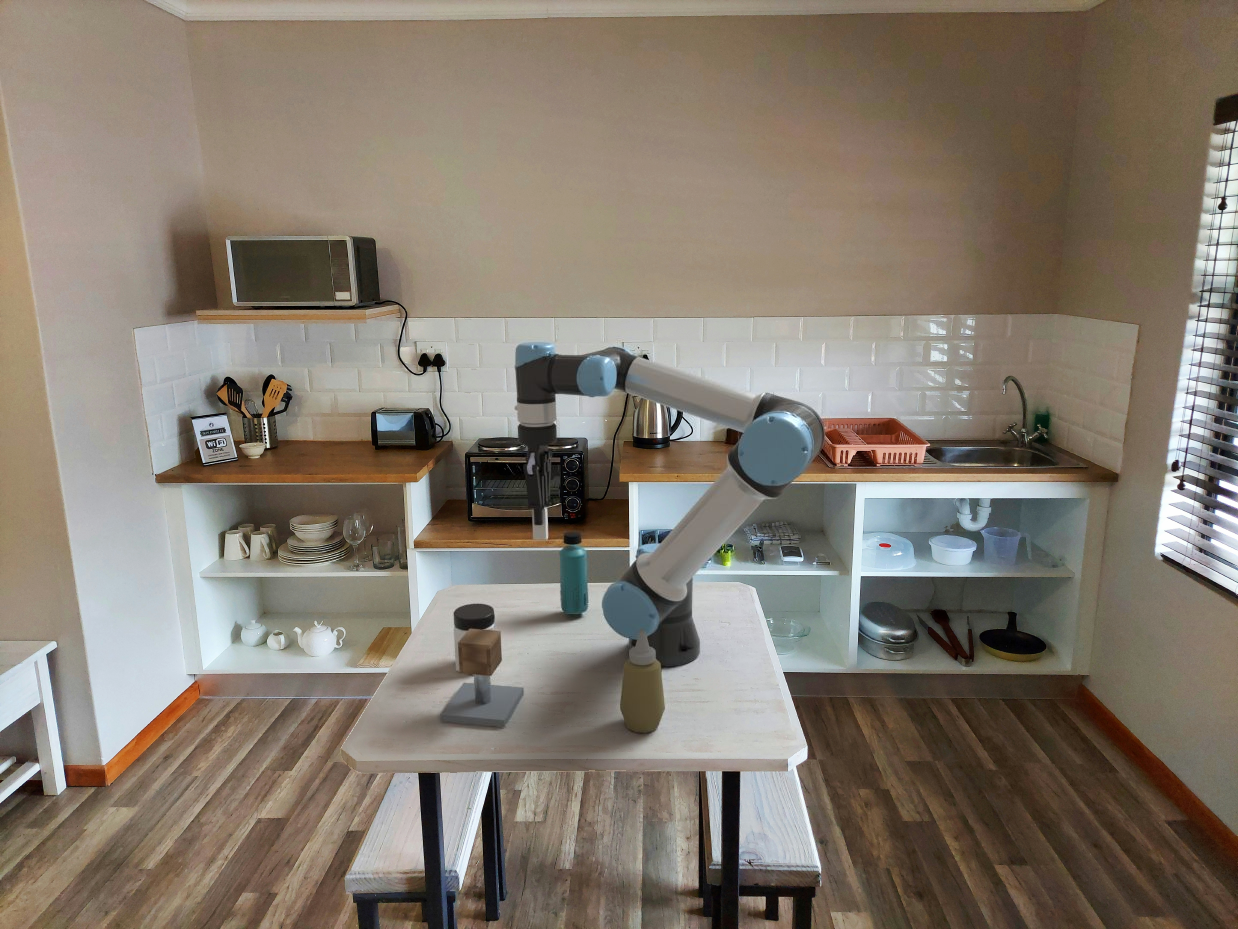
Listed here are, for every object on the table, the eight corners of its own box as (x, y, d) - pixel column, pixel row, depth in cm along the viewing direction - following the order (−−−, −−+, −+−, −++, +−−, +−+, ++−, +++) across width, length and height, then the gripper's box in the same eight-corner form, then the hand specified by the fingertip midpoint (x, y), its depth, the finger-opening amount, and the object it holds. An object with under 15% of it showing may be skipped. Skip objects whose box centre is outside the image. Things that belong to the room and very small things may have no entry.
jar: (464, 679, 171) (461, 623, 168) (448, 663, 177) (445, 609, 174) (505, 667, 176) (502, 612, 173) (488, 652, 182) (485, 599, 179)
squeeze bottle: (650, 742, 148) (650, 645, 144) (611, 729, 152) (610, 635, 148) (673, 721, 155) (674, 628, 151) (634, 709, 159) (634, 618, 155)
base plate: (523, 694, 165) (523, 687, 164) (504, 727, 153) (504, 720, 153) (464, 689, 167) (463, 682, 166) (440, 721, 155) (440, 714, 155)
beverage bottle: (588, 620, 198) (586, 537, 193) (559, 620, 198) (557, 537, 193) (589, 609, 204) (588, 528, 199) (561, 609, 204) (559, 528, 199)
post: (493, 697, 161) (490, 637, 158) (488, 705, 158) (485, 645, 155) (478, 695, 161) (475, 636, 158) (472, 703, 158) (469, 643, 156)
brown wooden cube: (501, 660, 160) (500, 631, 159) (491, 676, 155) (489, 645, 153) (471, 658, 161) (469, 628, 160) (459, 673, 156) (457, 642, 154)
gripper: (527, 416, 174) (531, 527, 179) (508, 429, 161) (513, 548, 167) (563, 417, 173) (566, 529, 178) (547, 430, 160) (550, 550, 166)
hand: (540, 538), depth 173 cm, fingers closed
